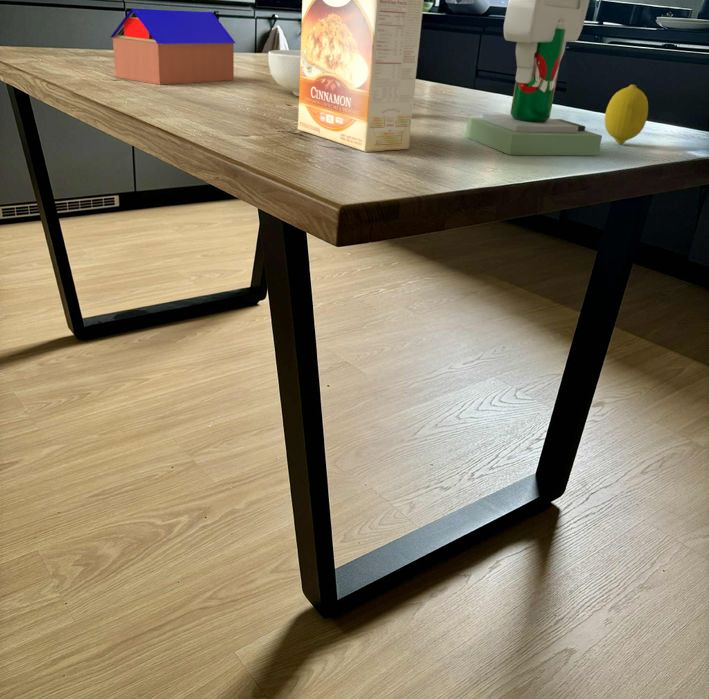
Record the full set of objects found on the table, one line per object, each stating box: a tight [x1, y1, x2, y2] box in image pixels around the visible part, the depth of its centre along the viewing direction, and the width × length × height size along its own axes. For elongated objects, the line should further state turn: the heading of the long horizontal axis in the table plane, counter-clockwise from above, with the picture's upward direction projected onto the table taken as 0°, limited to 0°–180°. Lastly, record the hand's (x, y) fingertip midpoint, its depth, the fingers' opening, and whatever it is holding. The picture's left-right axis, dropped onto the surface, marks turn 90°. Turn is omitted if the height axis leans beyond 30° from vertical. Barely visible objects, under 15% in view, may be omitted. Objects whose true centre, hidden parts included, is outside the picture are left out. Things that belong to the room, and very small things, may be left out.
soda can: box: [510, 20, 566, 122], centre depth 90 cm, size 5×5×12 cm
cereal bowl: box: [267, 49, 301, 97], centre depth 125 cm, size 17×17×7 cm
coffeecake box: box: [297, 0, 425, 153], centre depth 85 cm, size 15×7×20 cm, turn 36°
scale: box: [465, 113, 603, 156], centre depth 94 cm, size 13×12×3 cm
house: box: [110, 8, 236, 86], centre depth 133 cm, size 12×20×12 cm, turn 147°
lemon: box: [604, 84, 649, 145], centre depth 100 cm, size 6×6×8 cm
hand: (536, 80), depth 91 cm, fingers open, 8 cm apart
